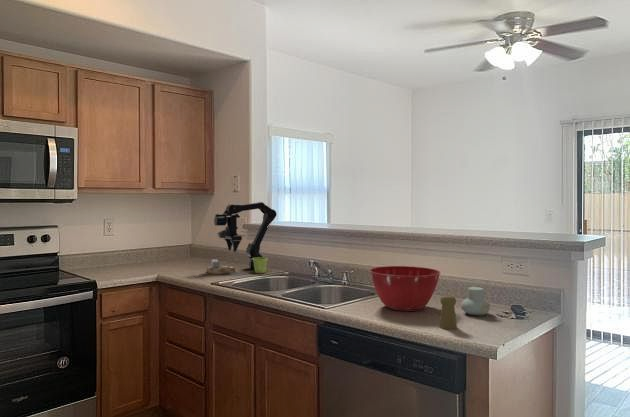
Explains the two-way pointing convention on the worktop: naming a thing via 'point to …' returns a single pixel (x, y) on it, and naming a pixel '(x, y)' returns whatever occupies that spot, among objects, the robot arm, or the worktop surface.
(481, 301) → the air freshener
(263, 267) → the plant pot
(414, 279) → the mixing bowl
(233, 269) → the socket block
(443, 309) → the cork
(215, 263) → the plug
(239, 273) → the pad
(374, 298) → the worktop surface
